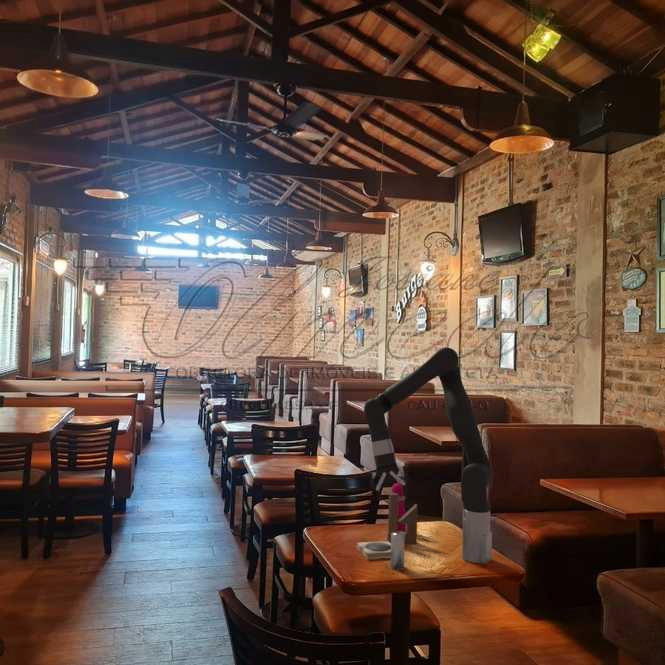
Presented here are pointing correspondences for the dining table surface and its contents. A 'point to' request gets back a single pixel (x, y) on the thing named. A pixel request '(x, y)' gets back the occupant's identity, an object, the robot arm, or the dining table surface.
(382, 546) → the rest block
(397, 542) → the axle
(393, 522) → the wooden block
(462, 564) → the dining table surface
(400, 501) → the pepper mill
